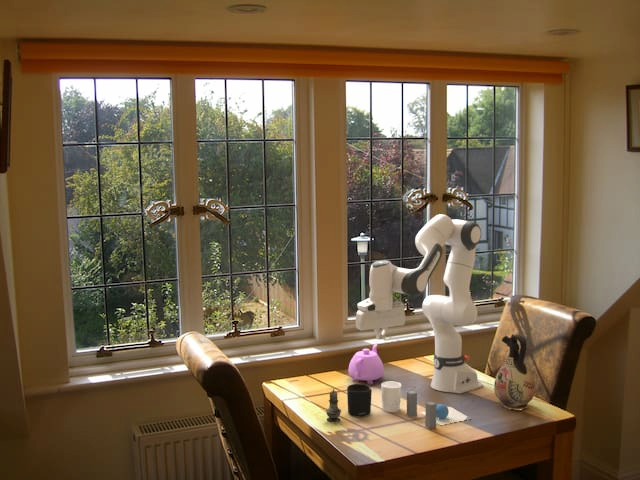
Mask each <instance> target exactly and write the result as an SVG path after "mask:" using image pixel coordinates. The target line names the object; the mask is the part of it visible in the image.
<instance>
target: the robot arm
mask: <svg viewBox="0 0 640 480" xmlns="http://www.w3.org/2000/svg"><path fill="white" fill-rule="evenodd" d="M481 237H482V229H481V227H480V225H479V224H478V223H477V222H475V221H472V220H464V219H452V218H451V217H449V216H448V215H446V214H441V213H440V214H436V215H435V216H433V217H432V218H431V219H430V220H429V221H428V222H426V224H425V225H423V227H422V228H421V229H420V230H419V231H418V233H417V234H416V235H415V238H414V244H415V247H416V249H417V251H418V253H420V254H421V255H422V256H423V257H424V258H423V259H422V260H421V262H420V264H419V266H418V267H416V268H412V269H411V268H410V269H409V268H406V267H405V268H404V267H398V266H396V265H394V264H393V263H391V261H390V260H386V259H382V260H376V261H374V262H372V263H371V266H370V270H369V276H368V277H369V278H368V279H369V280H368V281H369V284H368V285H369V287H370V288H369V290H370V291H369V295H368V298H366V299H364V300H363V301H360V302H358V303H357V309H358V310H357V312H356V315H355V327H356V329H357V330H359V331H370V330H373V332H374V334H375V335H376V336H375V337H376V340H378V341H379V340H385V339H386V334H387V333H388V330H389V328H391V327H393V328H394V327H398V326H399V327H400V326H404V325H405V323H406V313H405V309H406V308H405V303H404V302H402V301H401V300H400V301H393V299H394V298H393V295H394V294H393V292H395V293H397V294H398V293H399V294H403V295H407V296H410V297H411V298H412V297H413V298H417V297H419V296H421V295H422V294H423V293H424V292H425V291H426V289H427V286H428V283H429V280H430V279H431V277H432V276H433V273H434V271H435V269H436V268H437V267H438V265H439V263H440V262H441V260H442V257H443V253H444V252H443V251H444V250H443V247H444V246H445V245H446V246H451V250H450V253H449V255H448V259H447V262H446V267H445V271H444V274H443V283H444V284H445V285H446V287H447V288H448V291H449V296H448V295H442V294H430V295H428V296H426V297H425V298H424V300H423V302H422V306H421V309H422V313H423V315H424V316H425V317H426V319H428V321H429V323H430V325H431V328H432V330H433V335H434V353H433V367H434V368H433V375H432V380H431V383H430V387H431V388H432V389H433V390H436V391H440V392H445V393H455V394H463V393H467V392H470V391H473V390H477V389H480V388H483V387H484V384H483V383H482V381H480V380H479V379H478V374H477V371H476V370H475V369H474V368H472V367H471V366H470V365H469V364H467V363H466V362H468V361H470V359H471V358H470V356H468V355H464V354H462V348H463V347H462V345H463V344H462V341H463V340H462V339H463V338H462V336H461V334H460V332H458V331H457V330H456V328H455V326H459V327H461V326H462V327H463V326H465V327H467V326H468V327H469V326H472V325H473V324H474V323H475V322H476V320H477V318H478V309H477V306H476V304H475V303H474V301H473V300H472V296H471V293H470V292H471V291H470V285H471V280H472V279H471V278H472V274H473V269H474V267H475V259H476V246H477V245H478V244H479V242H480V241H481ZM454 325H455V326H454ZM380 329H382V331H381V333H380ZM465 361H466V362H465Z"/></svg>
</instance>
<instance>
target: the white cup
mask: <svg viewBox="0 0 640 480" xmlns="http://www.w3.org/2000/svg"><path fill="white" fill-rule="evenodd" d="M380 385H381V387H380V388H381V389H380V391H381V404H382V406H381V407H382V408H381V409H382V411H384V412H386V413H396V412H397V413H398V412H399V411H400V409H401V398H402V383H401V382H397V381H393V380H392V381H391V380H390V381H388V380H387V381H383V382H382V383H381V384H380Z"/></svg>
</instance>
